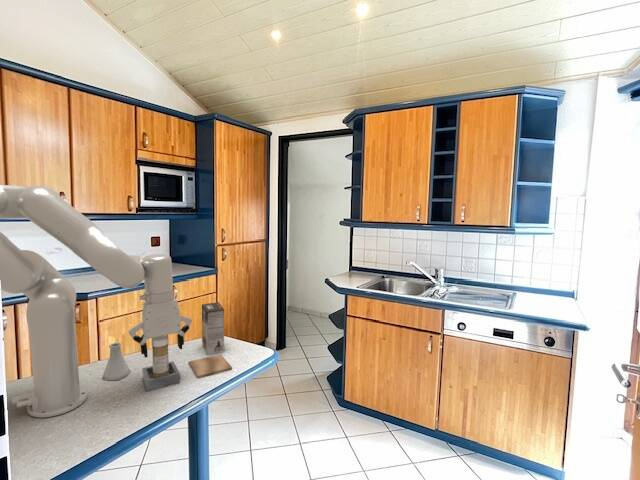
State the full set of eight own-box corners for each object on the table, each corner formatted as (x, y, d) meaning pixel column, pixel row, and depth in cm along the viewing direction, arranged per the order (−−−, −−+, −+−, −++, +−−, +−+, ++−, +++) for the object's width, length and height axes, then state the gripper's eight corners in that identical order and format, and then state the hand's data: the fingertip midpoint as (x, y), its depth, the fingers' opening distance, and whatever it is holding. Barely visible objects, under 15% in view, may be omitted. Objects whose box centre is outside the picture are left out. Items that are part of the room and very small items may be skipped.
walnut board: (197, 378, 108) (197, 376, 108) (188, 363, 117) (188, 361, 117) (232, 369, 114) (232, 367, 114) (221, 356, 123) (221, 354, 123)
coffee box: (201, 345, 131) (200, 303, 129) (218, 342, 134) (218, 301, 132) (206, 355, 123) (206, 311, 121) (225, 352, 127) (225, 308, 125)
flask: (134, 370, 112) (133, 340, 110) (119, 382, 105) (118, 350, 103) (113, 368, 112) (112, 338, 111) (97, 380, 105) (95, 348, 104)
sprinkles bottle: (157, 376, 109) (156, 334, 107) (172, 376, 109) (171, 335, 107) (149, 383, 104) (148, 340, 102) (164, 384, 104) (163, 341, 102)
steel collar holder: (146, 391, 100) (146, 381, 100) (142, 377, 108) (142, 368, 107) (180, 383, 105) (179, 373, 105) (173, 370, 113) (173, 361, 112)
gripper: (127, 305, 95) (132, 364, 98) (193, 294, 105) (196, 349, 107) (124, 298, 102) (129, 354, 104) (187, 288, 111) (189, 340, 114)
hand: (163, 351), depth 106 cm, fingers open, 9 cm apart
